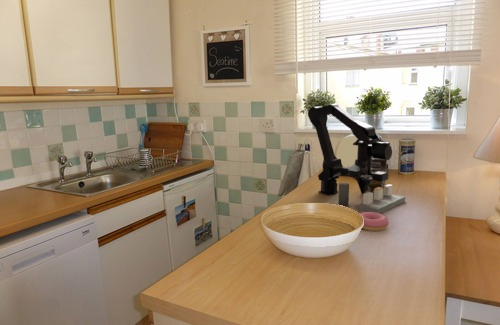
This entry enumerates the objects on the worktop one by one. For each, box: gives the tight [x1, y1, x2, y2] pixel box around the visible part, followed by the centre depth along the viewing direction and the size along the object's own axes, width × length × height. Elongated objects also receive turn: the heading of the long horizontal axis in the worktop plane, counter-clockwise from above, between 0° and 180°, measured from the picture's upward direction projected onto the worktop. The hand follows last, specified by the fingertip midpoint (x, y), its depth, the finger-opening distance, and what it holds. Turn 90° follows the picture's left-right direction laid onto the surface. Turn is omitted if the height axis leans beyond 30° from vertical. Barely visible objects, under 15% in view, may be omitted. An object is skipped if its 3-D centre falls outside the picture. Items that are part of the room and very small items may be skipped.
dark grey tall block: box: [337, 182, 350, 207], centre depth 146 cm, size 4×4×9 cm
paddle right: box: [384, 183, 394, 196], centre depth 153 cm, size 2×4×4 cm, turn 133°
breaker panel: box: [358, 193, 406, 214], centre depth 146 cm, size 8×22×2 cm, turn 133°
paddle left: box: [362, 192, 374, 205], centre depth 142 cm, size 2×4×4 cm, turn 133°
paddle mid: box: [373, 187, 383, 200], centre depth 147 cm, size 2×4×4 cm, turn 132°
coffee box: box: [365, 157, 388, 196], centre depth 162 cm, size 9×6×16 cm
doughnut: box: [359, 211, 390, 232], centre depth 125 cm, size 11×11×4 cm
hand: (362, 193), depth 153 cm, fingers closed
